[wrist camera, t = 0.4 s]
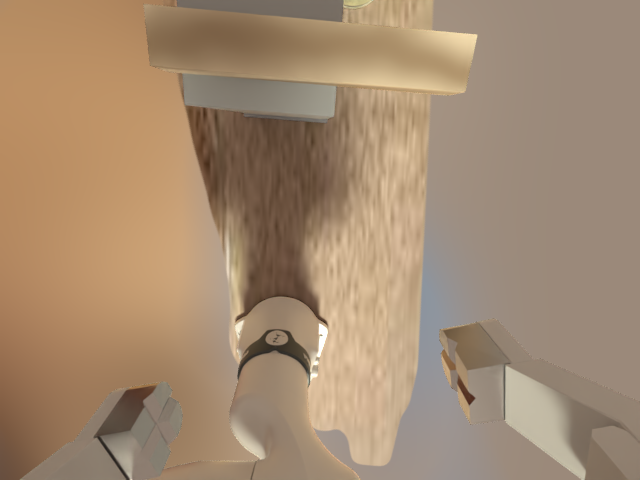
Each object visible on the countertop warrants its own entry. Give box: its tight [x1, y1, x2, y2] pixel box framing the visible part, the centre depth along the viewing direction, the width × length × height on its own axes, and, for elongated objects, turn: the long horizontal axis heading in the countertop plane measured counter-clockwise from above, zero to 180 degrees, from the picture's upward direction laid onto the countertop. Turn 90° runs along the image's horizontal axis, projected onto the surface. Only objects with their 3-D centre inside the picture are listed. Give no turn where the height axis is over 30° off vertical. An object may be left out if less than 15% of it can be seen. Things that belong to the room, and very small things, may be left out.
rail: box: [144, 4, 477, 95], centre depth 22 cm, size 4×22×3 cm, turn 86°
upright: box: [177, 0, 344, 123], centre depth 36 cm, size 9×13×26 cm
